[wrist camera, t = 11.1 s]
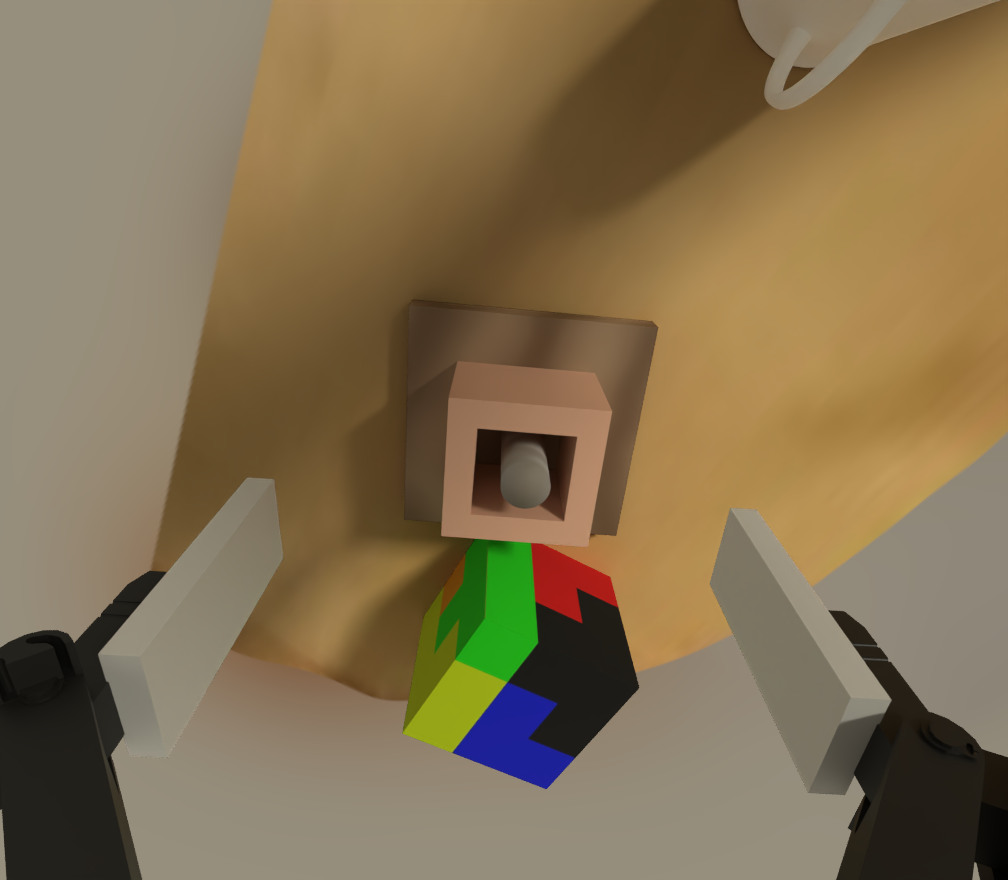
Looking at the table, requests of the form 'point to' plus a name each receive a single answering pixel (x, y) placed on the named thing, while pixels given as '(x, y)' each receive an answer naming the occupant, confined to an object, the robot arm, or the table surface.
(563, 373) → the collar
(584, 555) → the table surface
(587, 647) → the puzzle toy
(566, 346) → the square plate with peg
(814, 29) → the mug
